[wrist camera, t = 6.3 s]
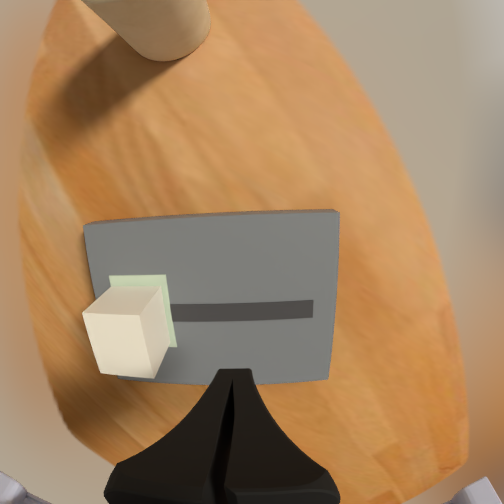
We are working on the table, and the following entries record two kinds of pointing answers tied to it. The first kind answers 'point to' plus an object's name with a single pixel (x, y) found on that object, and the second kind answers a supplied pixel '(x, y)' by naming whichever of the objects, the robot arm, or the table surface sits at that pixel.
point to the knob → (128, 330)
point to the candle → (157, 25)
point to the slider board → (230, 288)
